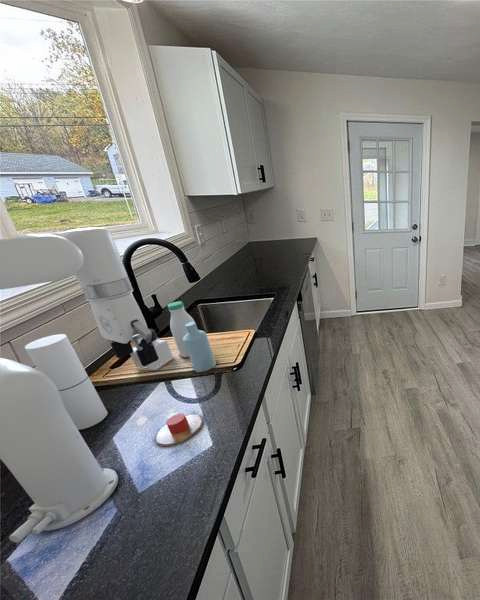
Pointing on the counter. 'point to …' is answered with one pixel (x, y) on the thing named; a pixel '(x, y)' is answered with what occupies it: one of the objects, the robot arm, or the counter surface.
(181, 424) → the cap
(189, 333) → the water bottle
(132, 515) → the counter surface
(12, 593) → the counter surface
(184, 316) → the milk bottle
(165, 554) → the counter surface
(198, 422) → the coaster
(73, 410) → the cylindrical container
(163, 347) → the container
